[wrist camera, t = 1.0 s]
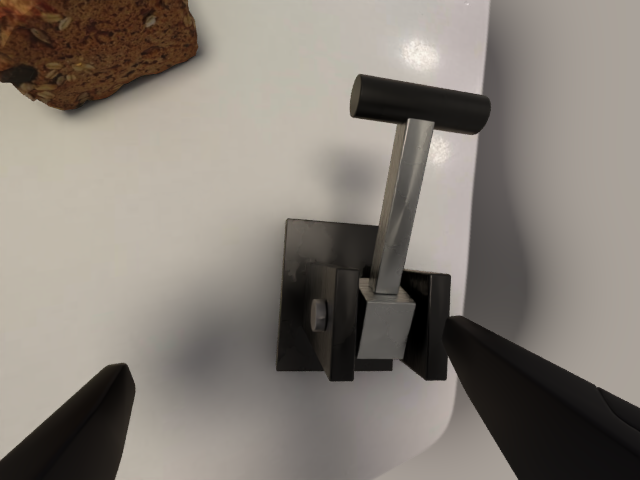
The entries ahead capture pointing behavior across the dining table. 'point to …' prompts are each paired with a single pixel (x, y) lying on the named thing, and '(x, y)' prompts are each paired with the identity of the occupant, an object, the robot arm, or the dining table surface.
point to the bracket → (349, 304)
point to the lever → (402, 196)
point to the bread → (90, 45)
